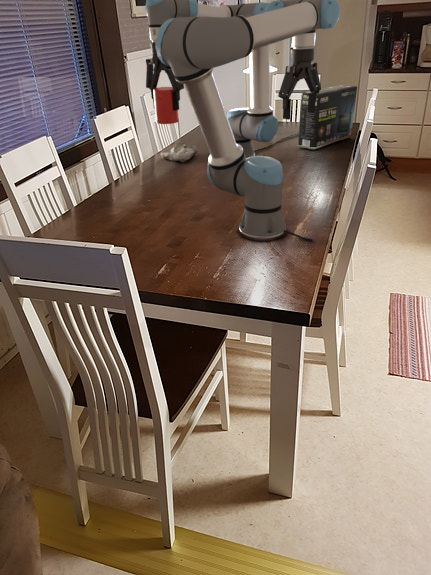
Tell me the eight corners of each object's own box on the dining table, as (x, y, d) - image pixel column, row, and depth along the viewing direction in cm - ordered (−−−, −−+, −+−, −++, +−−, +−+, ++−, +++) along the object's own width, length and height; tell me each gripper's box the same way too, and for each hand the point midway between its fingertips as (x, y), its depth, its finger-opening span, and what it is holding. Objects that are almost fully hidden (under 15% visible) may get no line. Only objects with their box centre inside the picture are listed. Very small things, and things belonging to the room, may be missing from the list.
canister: (170, 118, 180) (167, 86, 174) (183, 121, 174) (180, 88, 168) (152, 122, 175) (148, 88, 169) (164, 125, 170) (161, 90, 164)
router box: (314, 151, 231) (318, 94, 217) (296, 148, 237) (299, 92, 224) (352, 138, 251) (358, 85, 238) (335, 135, 258) (340, 83, 245)
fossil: (184, 156, 217) (163, 136, 220) (174, 174, 223) (154, 154, 227) (205, 153, 231) (186, 134, 234) (195, 171, 237) (176, 152, 240)
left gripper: (130, 41, 163) (138, 109, 175) (179, 41, 153) (183, 113, 165) (144, 40, 169) (150, 105, 180) (191, 40, 159) (195, 109, 170)
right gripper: (316, 45, 160) (312, 109, 171) (268, 50, 146) (267, 120, 157) (335, 45, 155) (329, 111, 166) (286, 51, 141) (283, 123, 152)
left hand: (166, 109), depth 173 cm, fingers closed on canister, 8 cm apart
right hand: (299, 115), depth 161 cm, fingers open, 13 cm apart
